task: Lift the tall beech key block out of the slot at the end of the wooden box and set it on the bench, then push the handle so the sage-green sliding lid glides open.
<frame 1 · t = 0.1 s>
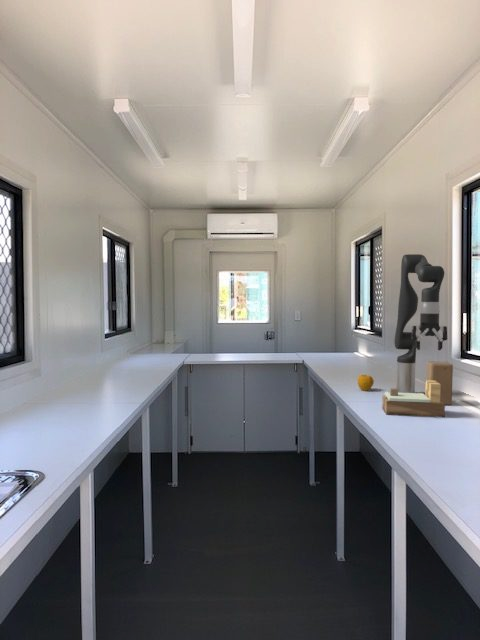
hand: (428, 349, 194), 29 cm above the table, fingers open, 8 cm apart
lid: (406, 393, 201), point 8 cm above the table, slide at 0.0 cm
wooden box: (412, 412, 201), on the table
apple: (365, 390, 249), on the table
key: (432, 400, 199), point 6 cm above the table, touching wooden box
wooden block: (438, 403, 220), on the table
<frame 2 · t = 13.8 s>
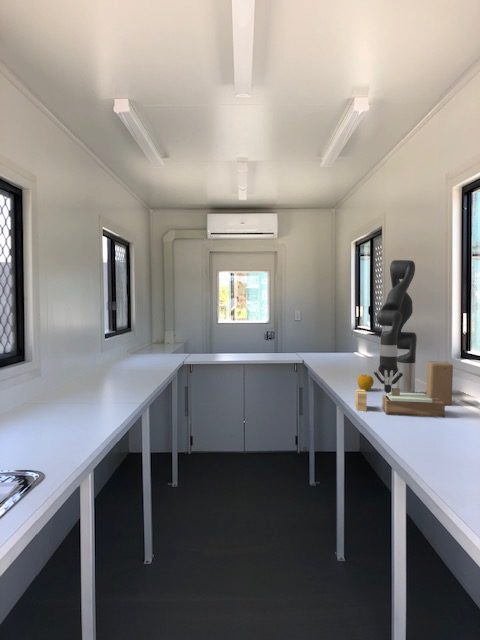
hand: (387, 392, 202), 8 cm above the table, fingers closed
lid: (408, 393, 201), point 8 cm above the table, slide at 0.7 cm, touching gripper
key: (360, 408, 208), on the table
everything else where it was.
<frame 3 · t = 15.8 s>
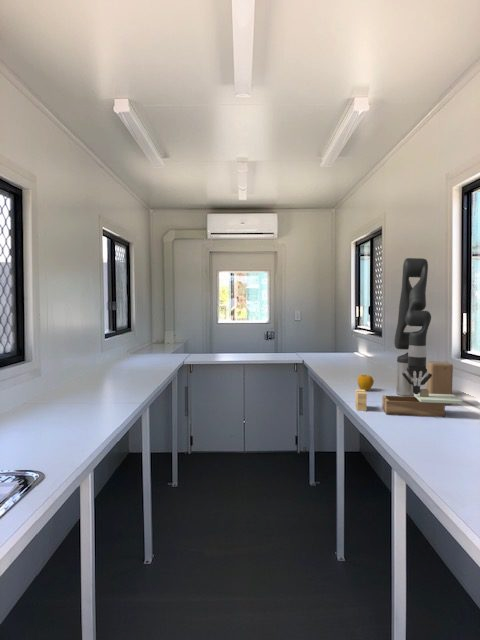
hand: (416, 393, 200), 8 cm above the table, fingers closed
lid: (437, 394, 199), point 8 cm above the table, slide at 13.0 cm, touching gripper
everything else where it was.
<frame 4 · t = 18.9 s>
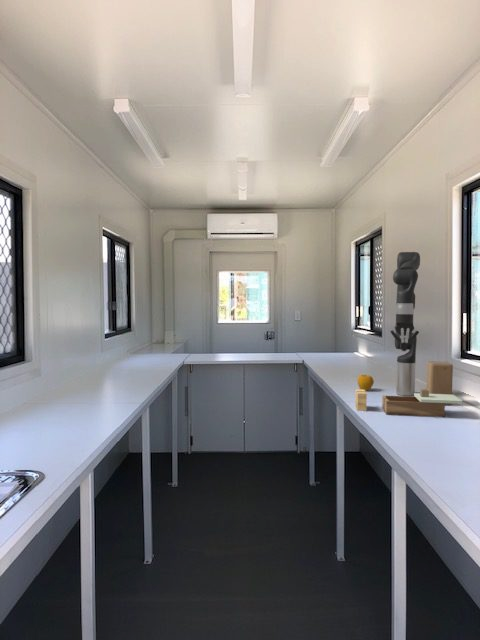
hand: (403, 350, 206), 27 cm above the table, fingers closed
lid: (437, 394, 199), point 8 cm above the table, slide at 13.0 cm
everything else where it was.
at the end: lid slide at 13.0 cm; key inside the target area (1.1 cm from its centre), on the table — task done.
